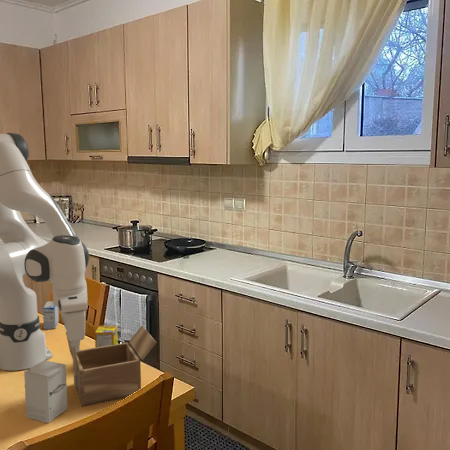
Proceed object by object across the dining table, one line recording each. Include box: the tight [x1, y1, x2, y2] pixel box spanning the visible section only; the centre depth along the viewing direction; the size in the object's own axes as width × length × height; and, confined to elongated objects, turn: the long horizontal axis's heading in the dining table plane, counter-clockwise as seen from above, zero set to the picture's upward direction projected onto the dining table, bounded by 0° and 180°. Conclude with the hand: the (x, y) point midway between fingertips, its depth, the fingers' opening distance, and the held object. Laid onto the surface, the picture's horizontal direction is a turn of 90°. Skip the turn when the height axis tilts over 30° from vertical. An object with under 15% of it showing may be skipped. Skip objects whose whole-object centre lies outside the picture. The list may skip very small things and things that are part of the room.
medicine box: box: [42, 300, 60, 330], centre depth 185 cm, size 8×4×9 cm, turn 10°
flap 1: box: [65, 331, 79, 371], centre depth 131 cm, size 14×6×1 cm
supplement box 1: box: [23, 360, 68, 424], centre depth 123 cm, size 7×7×13 cm
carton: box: [72, 341, 142, 408], centre depth 136 cm, size 14×16×10 cm
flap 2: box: [128, 325, 158, 361], centre depth 140 cm, size 14×6×1 cm
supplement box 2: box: [94, 325, 119, 348], centre depth 155 cm, size 6×6×11 cm
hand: (73, 345), depth 131 cm, fingers open, 8 cm apart
